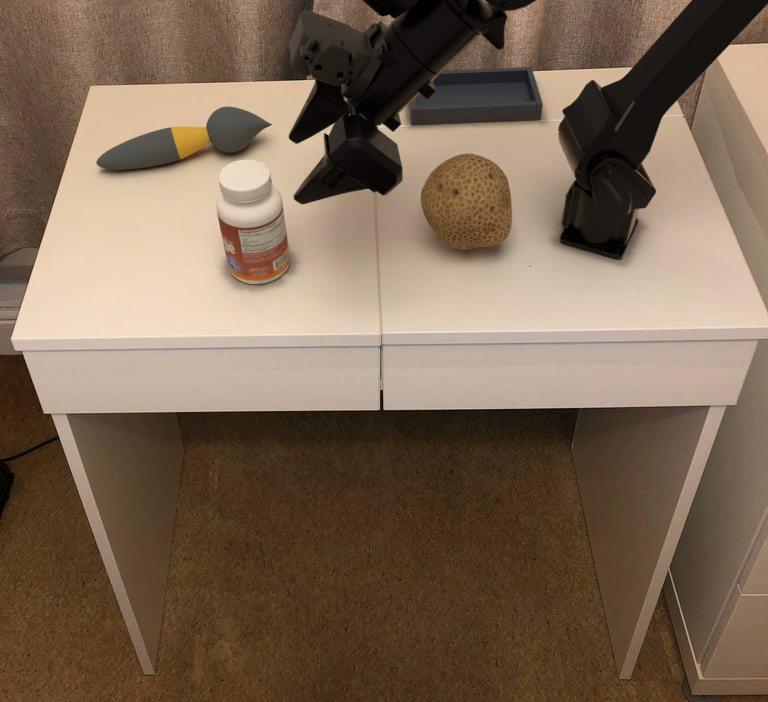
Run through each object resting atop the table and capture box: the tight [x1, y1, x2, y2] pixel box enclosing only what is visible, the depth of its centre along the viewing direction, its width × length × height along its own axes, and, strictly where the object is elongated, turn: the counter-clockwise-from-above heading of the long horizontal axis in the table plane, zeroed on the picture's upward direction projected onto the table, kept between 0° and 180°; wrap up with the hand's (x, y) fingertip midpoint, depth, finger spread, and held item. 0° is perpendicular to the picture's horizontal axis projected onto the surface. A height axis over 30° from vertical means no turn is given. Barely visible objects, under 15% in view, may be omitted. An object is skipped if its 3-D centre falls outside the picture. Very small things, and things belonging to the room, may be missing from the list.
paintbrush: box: [95, 106, 273, 171], centre depth 97 cm, size 20×5×5 cm, turn 112°
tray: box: [408, 66, 544, 126], centre depth 105 cm, size 15×8×2 cm, turn 92°
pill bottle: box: [215, 159, 291, 285], centre depth 83 cm, size 6×6×11 cm
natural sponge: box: [420, 153, 513, 251], centre depth 85 cm, size 9×9×10 cm
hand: (294, 169), depth 79 cm, fingers open, 9 cm apart
